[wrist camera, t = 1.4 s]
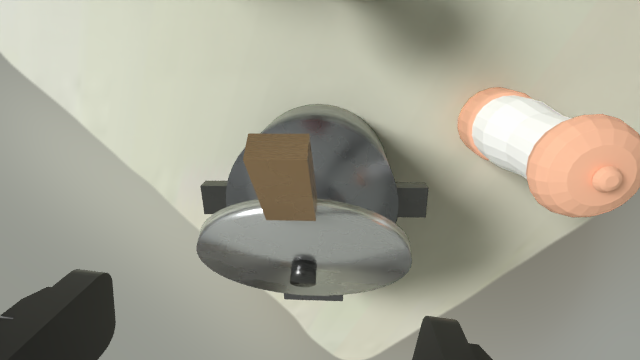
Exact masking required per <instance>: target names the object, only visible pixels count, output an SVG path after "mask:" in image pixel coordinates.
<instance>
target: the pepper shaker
mask: <svg viewBox="0 0 640 360" xmlns="http://www.w3.org/2000/svg"><path fill="white" fill-rule="evenodd" d="M458 131H459V135H460V138H461V139H462V141H463V142H464V144H465V145H466V146H467V147H468V148H469V149H471V150H472V151H473V152H474V153H476V154H477V155H479V156H480V157H482V158H483V159H485V160H489V161H491V162H492V163H494V164H495V165H497V166H498V167H500V168H502V169H505V170H508V171H511V172H514V173H516V174H519V175H521V176H523V177H524V178H526V179H527V181H528V185H529V189H530V192H531V193H532V194H533V196H534V197H535V199H536V200H537V202H538V203H539V204H541V205H542V206H544V207H545V208H547V209H548V210H550V211H551V212H555V213H558V214H562V215H566V216H569V217H591V216H596V215H599V214H603V213H606V212H610V211H612V210H614V209H615V208H617V207H619V206H621V205H622V204H624V203H625V202H626V201H628V200H629V199H630V198H631V197H632V196H633V195H634V194H635V193H636V192H637V190H638V189H639V187H640V135H639V134H638V132H636V131H635V130H634V129H633V128H631V127H630V126H628V125H627V124H626V123H624V122H623V121H622V120H620V119H618V118H615V117H611V116H607V115H604V114H596V115H582V116H578V117H575V118H569V117H566V116H563V115H561V114H560V113H558V112H557V111H555V110H554V109H552V108H551V107H549V106H548V105H546V104H545V103H544V102H541V101H538V100H534V99H532V98H531V97H529V96H528V95H526V94H525V93H521V92H517V91H514V90H510V89H505V88H501V87H498V88H488V89H486V90H483V91H480V92H478V93H477V94H475V95H474V96H473V97H471V98H470V99H469V100H468V101H467V103H466V104H465V105H464V106H463V108H462V110H461V112H460V115H459V118H458Z"/></svg>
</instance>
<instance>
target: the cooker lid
mask: <svg viewBox="0 0 640 360" xmlns="http://www.w3.org/2000/svg"><path fill="white" fill-rule="evenodd" d="M243 161H244V164H245V167H246V169H247V172H248V174H249V177H250V180H251V182H252V185H253V187H254V190H255V193H256V195H257V198H258V199H256V200H251V201H245V202H241V203H238V204H234V205H231V206H229V207H226V208H224V209H221V210H219V211H218V212H216V213H214V214H213V215H211V216H210V217H209V218H208V219H207V220H206V221H205V222H204V224H203V225H202V228H201V231H200V234H199V238H198V242H197V254H198V256H199V258H200V259H201V261H202V262H203V263H204V264H205V265H206V266H207V267H209V268H210V269H211V270H213V271H214V272H216V273H218V274H219V275H221V276H223V277H226V278H228V279H230V280H233V281H236V282H238V283H241V284H244V285H247V286H251V287H255V288H258V289H263V290H268V291H274V292H279V293H287V294H292V295H306V296H333V295H345V294H354V293H360V292H366V291H370V290H375V289H378V288H381V287H384V286H387V285H389V284H392V283H394V282H396V281H398V280H399V279H400V278H402V277H403V276H404V275H405V274H406V273H407V272H408V271H409V269H410V268H411V264H412V258H411V248H410V241H409V239H408V237H407V235H406V233H405V232H404V231H403V230H402V229H401V228H400V227H399V226H398V225H397V224H395V223H394V222H392V221H391V220H389V219H387V218H386V217H384V216H382V215H380V214H377V213H375V212H373V211H370V210H367V209H365V208H362V207H359V206H355V205H351V204H347V203H343V202H338V201H332V200H326V199H317V191H316V183H315V175H314V167H313V159H312V151H311V143H310V134H248V138H247V143H246V147H245V152H244V157H243Z"/></svg>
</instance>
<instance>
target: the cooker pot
mask: <svg viewBox="0 0 640 360" xmlns="http://www.w3.org/2000/svg"><path fill="white" fill-rule="evenodd" d="M260 134H310V143H311V151H312V159H313V167H314V175H315V183H316V191H317V199H326V200H332V201H338V202H343V203H347V204H351V205H355V206H359V207H362V208H365V209H367V210H370V211H373V212H375V213H377V214H380V215H382V216H384V217H386V218H387V219H389V220H391V221H392V222H394V223H395V224H396V220H397V217H426V207H427V196H428V187H427V185H426V183H397V182H395V180H394V177H393V174H392V171H391V168H390V166H389V163H388V160H387V157H386V154H385V151H384V149H383V146H382V144H381V142H380V140H379V138H378V137H377V135H376V134H375V132H374V131H373V130H372V129H371V127H370V126H369V125H368V124H367V123H366V122H364V121H363V120H362V119H361V118H359V117H358V116H356V115H355V114H353V113H351V112H349V111H347V110H345V109H342V108H339V107H336V106H331V105H323V104H313V105H305V106H301V107H297V108H294V109H292V110H289V111H287V112H286V113H284V114H282V115H280V116H279V117H278V118H276V119H275V120H274V121H273V122H272V123H271V124H270V125H269V126H267V127H266V128H265V129H264V130H263V131H262V132H261V133H260ZM244 152H245V149H244V150H243V151H242V152H241V154H240V155H239V156H238V158H237V160H236V161H235V163H234V165H233V167H232V170H231V172H230V175H229V178H228V181H205V182H204V183H203V184H202V185H201V192H202V200H203V207H204V214H214V213H216V212H218V211H219V210H221V209H224V208H226V207H229V206H231V205H234V204H238V203H241V202H245V201H251V200H256V199H258V198H257V195H256V193H255V190H254V187H253V185H252V182H251V180H250V177H249V174H248V172H247V169H246V167H245V164H244V161H243V157H244ZM284 299H295V300H325V301H343V295H333V296H306V295H292V294H287V293H284Z"/></svg>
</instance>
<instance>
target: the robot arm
mask: <svg viewBox="0 0 640 360" xmlns="http://www.w3.org/2000/svg"><path fill="white" fill-rule="evenodd" d="M114 330H115V309H114V297H113V285H112V278H111V276H110V275H109V274H108V273H103V272H95V271H88V270H80V269H76V270H73V271H71V272H70V273H69V274H68V275H66V276H65V277H64V278H63V279H61V280H60V281H59V282H58V283H56V284H55V285H54V286H53V287H46V288H44V289H42V290H40V291H38V292H36V293H34V294H32V295H30V296H27V297H25V298H23V299H21V300H20V301H19V302H17V303H16V304H15V305H13V306H12V307H11V308H10V309H8V310H7V311H6V312H4V313H3V314H2V315H1V317H0V360H98V359H99V357H100V356H101V355H102V354H103V352H104V351H105V350H106V348H107V347H108V345H109V343H110V341H111V339H112V337H113V334H114ZM412 360H493V359H491V358H490V356H489V355H488V354H487V353H486V352H485V351H484V350H483V349H482V348H481V347H480V346H479V345H477V344H470V343H468V342H467V339H466V337H465V335H464V333H463V331H462V328H461V326H460V324H459V322H458V321H457V320H453V319H446V318H438V317H431V316H425V317H424V319H423V321H422V324H421V328H420V332H419V336H418V340H417V344H416V347H415V351H414V355H413V359H412Z"/></svg>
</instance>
